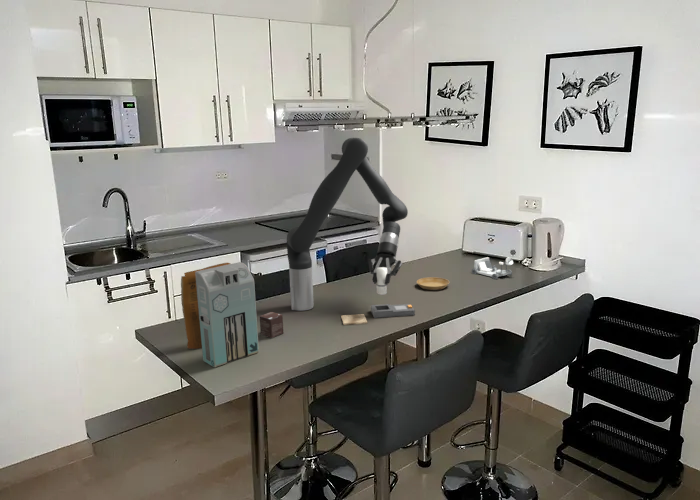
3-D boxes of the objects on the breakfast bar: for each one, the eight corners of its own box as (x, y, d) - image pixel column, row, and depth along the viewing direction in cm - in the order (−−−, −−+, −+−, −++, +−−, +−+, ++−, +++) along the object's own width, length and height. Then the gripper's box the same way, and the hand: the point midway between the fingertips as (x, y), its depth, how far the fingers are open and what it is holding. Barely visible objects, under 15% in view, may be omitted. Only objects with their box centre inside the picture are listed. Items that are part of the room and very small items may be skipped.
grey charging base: (374, 317, 216) (374, 311, 216) (370, 311, 224) (370, 304, 224) (414, 315, 218) (414, 308, 218) (410, 308, 226) (410, 302, 225)
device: (215, 368, 175) (207, 276, 169) (203, 361, 181) (194, 271, 174) (259, 353, 186) (253, 265, 179) (246, 346, 192) (240, 261, 185)
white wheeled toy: (517, 257, 266) (502, 261, 259) (516, 277, 268) (501, 281, 261) (487, 251, 280) (471, 254, 273) (486, 270, 282) (471, 274, 275)
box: (272, 330, 207) (271, 311, 205) (284, 333, 203) (283, 314, 201) (260, 335, 202) (259, 315, 200) (271, 338, 198) (270, 319, 197)
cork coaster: (343, 324, 210) (343, 323, 210) (341, 316, 218) (341, 315, 218) (367, 323, 211) (367, 321, 211) (363, 315, 219) (363, 313, 219)
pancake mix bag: (240, 339, 198) (234, 263, 192) (188, 353, 187) (180, 273, 181) (232, 334, 203) (226, 259, 197) (181, 347, 192) (173, 269, 186)
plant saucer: (439, 293, 245) (439, 288, 244) (410, 288, 254) (410, 282, 253) (455, 285, 256) (455, 280, 256) (426, 280, 265) (426, 275, 265)
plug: (377, 294, 217) (377, 269, 214) (375, 291, 221) (375, 267, 218) (387, 294, 217) (387, 269, 215) (386, 291, 221) (385, 266, 219)
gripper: (369, 240, 224) (360, 277, 215) (404, 241, 219) (396, 279, 211) (372, 250, 230) (364, 286, 221) (406, 252, 225) (400, 289, 217)
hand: (380, 283), depth 216 cm, fingers closed on plug, 4 cm apart
